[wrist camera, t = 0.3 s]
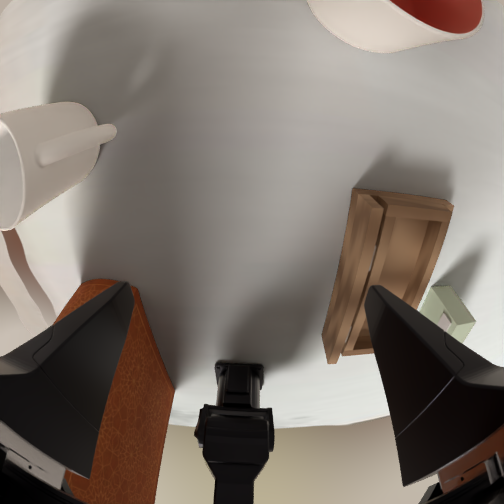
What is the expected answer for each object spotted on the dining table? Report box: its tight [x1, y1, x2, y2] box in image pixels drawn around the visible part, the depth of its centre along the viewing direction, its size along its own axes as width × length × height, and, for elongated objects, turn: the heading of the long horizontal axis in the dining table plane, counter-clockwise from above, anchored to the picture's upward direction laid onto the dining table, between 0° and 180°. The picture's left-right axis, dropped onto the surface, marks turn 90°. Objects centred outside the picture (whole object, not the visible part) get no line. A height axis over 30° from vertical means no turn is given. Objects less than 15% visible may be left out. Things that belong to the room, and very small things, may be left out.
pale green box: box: [420, 286, 476, 343], centre depth 28 cm, size 12×4×7 cm, turn 179°
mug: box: [0, 102, 117, 231], centre depth 15 cm, size 12×8×10 cm
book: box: [53, 279, 175, 504], centre depth 20 cm, size 23×8×30 cm, turn 0°
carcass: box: [322, 188, 454, 364], centre depth 24 cm, size 18×11×4 cm, turn 179°
